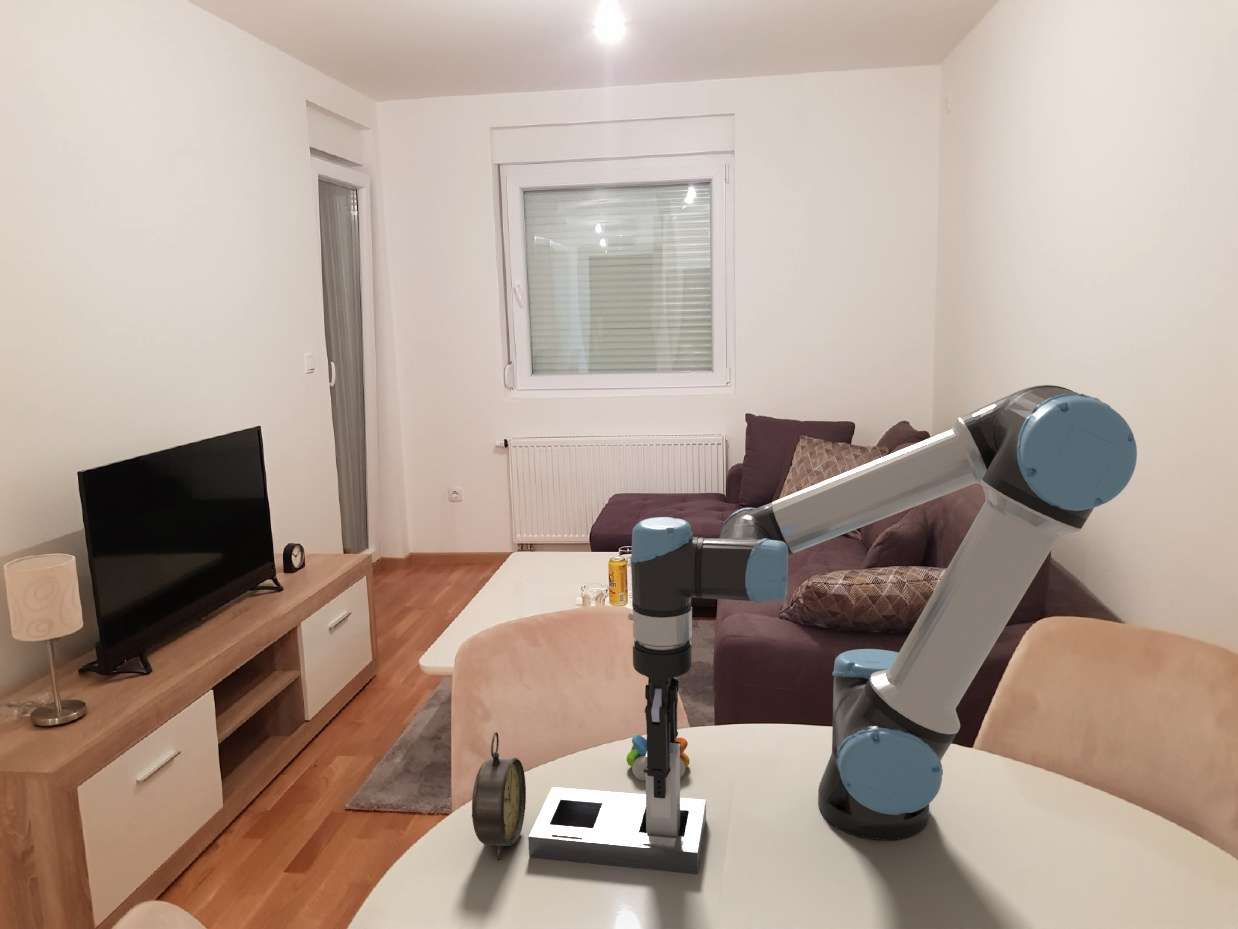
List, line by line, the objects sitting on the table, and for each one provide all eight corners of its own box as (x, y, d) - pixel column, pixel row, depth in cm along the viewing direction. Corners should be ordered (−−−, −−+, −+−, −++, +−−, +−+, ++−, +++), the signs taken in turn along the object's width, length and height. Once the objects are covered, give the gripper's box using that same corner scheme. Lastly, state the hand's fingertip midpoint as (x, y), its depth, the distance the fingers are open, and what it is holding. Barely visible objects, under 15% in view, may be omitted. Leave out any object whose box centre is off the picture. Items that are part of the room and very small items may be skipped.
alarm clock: (508, 871, 114) (502, 755, 111) (467, 868, 115) (461, 752, 112) (529, 822, 124) (525, 715, 121) (492, 819, 125) (487, 712, 122)
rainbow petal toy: (691, 785, 133) (691, 741, 132) (627, 787, 133) (626, 742, 132) (687, 757, 141) (687, 714, 140) (626, 758, 141) (625, 715, 140)
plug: (680, 825, 120) (679, 739, 117) (676, 843, 116) (676, 754, 113) (650, 823, 120) (649, 737, 118) (646, 840, 116) (645, 752, 114)
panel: (706, 823, 123) (706, 798, 122) (697, 878, 112) (697, 851, 111) (553, 809, 127) (552, 785, 127) (529, 861, 116) (528, 835, 115)
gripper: (643, 614, 122) (645, 770, 126) (620, 664, 105) (624, 841, 110) (697, 617, 120) (698, 774, 125) (683, 668, 104) (684, 847, 108)
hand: (663, 805), depth 117 cm, fingers closed on plug, 4 cm apart
